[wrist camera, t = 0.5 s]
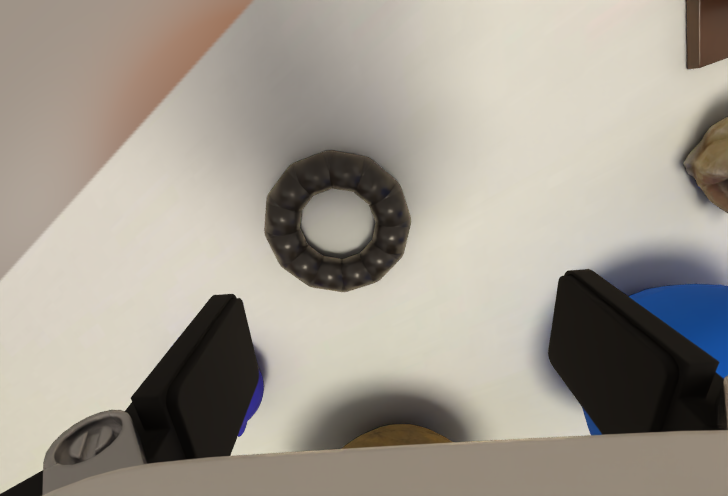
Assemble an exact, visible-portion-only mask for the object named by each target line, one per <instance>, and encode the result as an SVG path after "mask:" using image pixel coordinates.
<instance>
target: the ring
mask: <svg viewBox="0 0 728 496" xmlns="http://www.w3.org/2000/svg"><path fill="white" fill-rule="evenodd" d="M332 188H333V189H339V190H345V191H351V192H354V193H355V194H357V195H358V196H359V197H360V198H361V199H363V200H364V201H365V202H366V203H368V204H369V206H370V208H371V211H372V214H373V216H374V219H375V222H376V223H375V228H374V233H373V238H372V241H371V242H370V243H369V244H368V245H367V246H366V247H365V248H364V249H363V250H362V252H361V253H359V254H356V255H353V256H350V257H347V258H344V259H339V258H333V257H327V256H323V255H321V254H320V253H319V252H317V251H316V250H315V249H313V248H312V247H310V246H309V245H308V244H307V242H306V240H305V237H304V235H303V233H302V231H301V229H300V224H301V215H302V209H303V208H304V207H305V206H306V204H307V203H308V202H309V201H310V199H311V198H312V197H313V196H314V195H316V194H319V193H321V192H324V191H327V190H330V189H332ZM410 225H411V217H410V213H409V210H408V207H407V204H406V201H405V198H404V195H403V192H402V189H401V186H400V184H399V183H398V182H397V181H396V180H395V179H394V178H393V177H392V176H391V175H390V174H388V173H387V172H386V171H385V170H384V169H383V168H381V167H380V166H379V165H378V164H377V163H376V162H374V161H373V160H372V159H370V158H369V157H366V156H361V155H356V154H350V153H345V152H339V151H334V150H328V151H324V152H321V153H318V154H316V155H313V156H311V157H308V158H305V159H303V160H300V161H297V162H295V163H293V164H291V165H290V166H289V167H288V168H287V169H286V171H285V172H284V173H283V175H282V176H281V177H280V179H279V180H278V181H277V183H276V184H275V185H274V187H273V188H272V189H271V191H270V192H269V194H268V196H267V201H266V214H265V228H264V231H265V236H266V238H267V240H268V242H269V244H270V246H271V248H272V250H273V252H274V254H275V256H276V258H277V260H278V262H279V264H280V265H281V266H282V267H283V268H284V269H285V270H287V271H288V272H289V273H291V274H292V275H294V276H295V277H296V278H298V279H299V280H301V281H302V282H304V283H305V284H306V285H308V286H310V287H313V288H319V289H326V290H332V291H339V292H348V291H351V290H354V289H357V288H360V287H363V286H366V285H369V284H372V283H375V282H378V281H379V280H380V279H381V278H382V277H383V276H384V275H385V274H386V273H387V272H388V271H389V270H390V269H391V268H392V267H393V266H394V265H395V264H396V263H397V262H398V261H399V260H400V259H401V257H402V256H403V254H404V250H405V246H406V242H407V238H408V233H409V229H410Z"/></svg>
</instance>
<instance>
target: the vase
mask: <svg viewBox="0 0 728 496" xmlns="http://www.w3.org/2000/svg"><path fill="white" fill-rule="evenodd" d="M628 297H630V298H631V299H633V300H634V301H635V302H637V303H638V304H640V305H641V306H642V307H644V308H645V309H647V310H648V311H649V312H651V313H652V314H654V315H655V316H656V317H658V318H659V319H660V320H662V321H663V322H665V323H666V324H667V325H669V326H670V327H672V328H673V329H674V330H676V331H677V332H679V333H680V334H681V335H683V336H684V337H686V338H687V339H688V340H690V341H691V342H692V343H694V344H695V345H697V346H698V347H699V348H701V349H702V350H704V351H705V352H706V353H708V354H709V355H711V356H712V357H713V358H715V359H716V360H718V361H719V364H718V367H717V370H716V373H717V374H719V375H720V376H721V377H723V378H725V377H726V376H727V375H728V286H724V285H711V284H683V285H668V286H662V287H656V288H650V289H646V290H643V291H641V292H638V293H636V294H633V295H630V296H628ZM582 408H583V407H582ZM583 411H584V415H585V418H586V422H587V425H588V428H589V431H590V434H591V435H602V433H601V432H600V431H599V429H598V428H597V426H596V425H595V424H594V422H593V421H592V420H591V418H590V417H589V415H588V414H587V413H586V411H585V410H584V409H583Z"/></svg>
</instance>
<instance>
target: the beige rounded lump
mask: <svg viewBox="0 0 728 496" xmlns="http://www.w3.org/2000/svg"><path fill="white" fill-rule="evenodd" d="M683 164H684V166H685V167H686V170H687V173H688V174H689V175H692V176H693V177H694V178H695V179H696V182H697V185H698V186H699V187H700V188H701V189H702V190H703V192H704V193H705V195H706V196H707V198H708V199H709V200H710V201H711V202H712V203H713V204H714V205H716V206H717V207H719V208H720V209H722V210H724V211H725V212H726V213H728V117H726V118H725V119H723V120H721V121H719V122H717V123H716V124H714V125H712V126H711V127H710V128H709V129H708V131H707V132H706V133H705V135H704V137H703V139H702V140H701V142H700V143H699V144H698V145H697V146H696V147H695V148H694V149H693V150H692V151H691V152H690V153H689V155H688V157H687V158H686V160H685V161H684V163H683Z"/></svg>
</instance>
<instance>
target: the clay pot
mask: <svg viewBox="0 0 728 496" xmlns="http://www.w3.org/2000/svg"><path fill="white" fill-rule="evenodd" d="M435 443H453V442H452V441H450V440H449V439H447V438H446V437H444V436H442V435H440V434H438V433H436V432H434V431H432V430H430V429H427V428H424V427H421V426H417V425H412V424H392V425H387V426H382V427H379V428H377V429H374V430H372V431H370V432H367V433H365V434H363V435H360V436H359V437H357V438H356V439H354V440H353V441H351V442H350V443H348V444H347V445H345V446H344V447H343V448H342V449H349V448H365V447H382V446H400V445H417V444H435Z"/></svg>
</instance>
